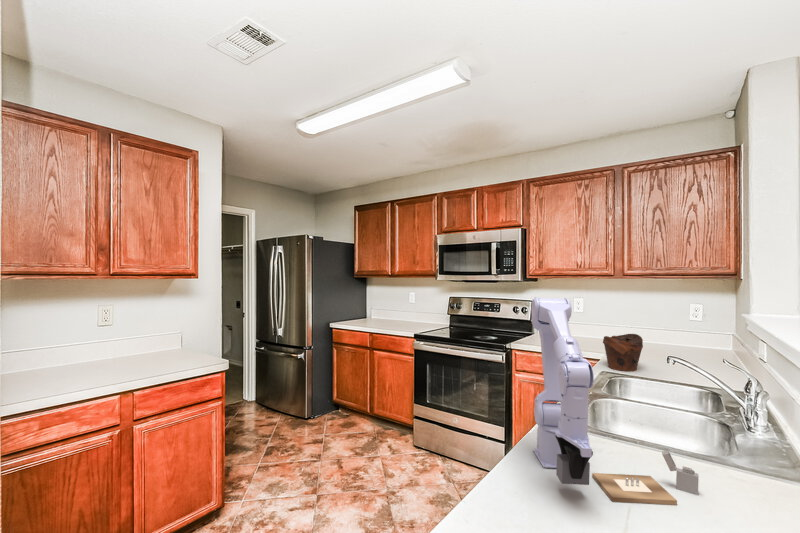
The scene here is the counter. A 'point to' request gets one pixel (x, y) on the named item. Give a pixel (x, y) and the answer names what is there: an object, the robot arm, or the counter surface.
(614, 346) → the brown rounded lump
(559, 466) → the block
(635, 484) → the board
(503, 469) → the counter surface
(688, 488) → the lighter
